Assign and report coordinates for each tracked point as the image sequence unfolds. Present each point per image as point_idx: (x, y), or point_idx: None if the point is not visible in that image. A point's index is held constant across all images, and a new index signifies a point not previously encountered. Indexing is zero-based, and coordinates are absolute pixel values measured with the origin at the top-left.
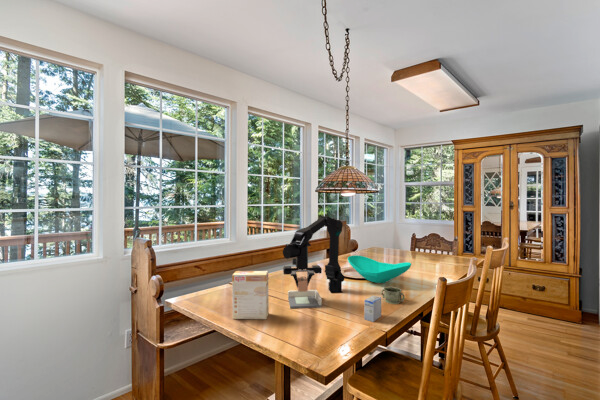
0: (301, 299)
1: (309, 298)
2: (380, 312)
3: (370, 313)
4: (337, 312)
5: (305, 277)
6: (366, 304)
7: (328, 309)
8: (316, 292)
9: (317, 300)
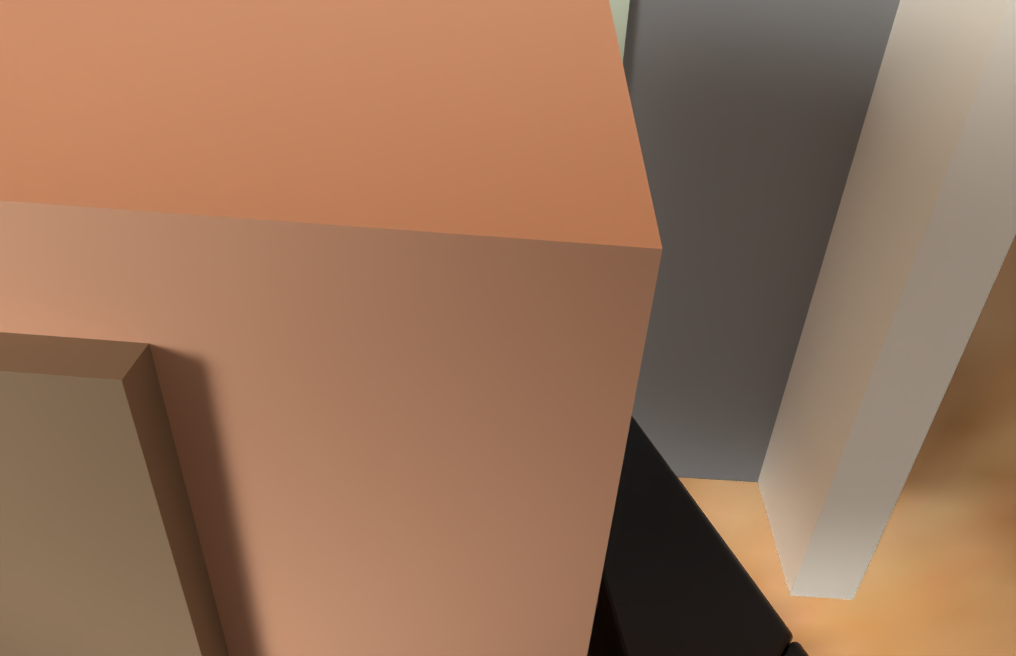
0: None
1: (681, 9)
2: None
3: None
4: (957, 648)
5: (524, 559)
6: None
7: (879, 546)
8: (1002, 98)
9: (818, 329)
